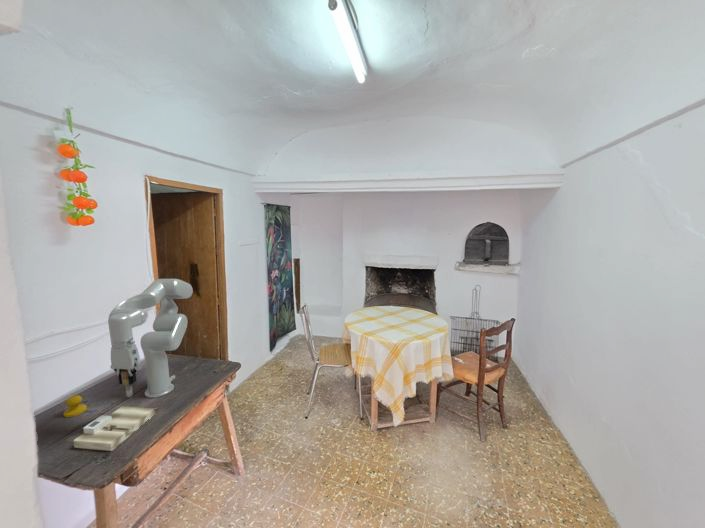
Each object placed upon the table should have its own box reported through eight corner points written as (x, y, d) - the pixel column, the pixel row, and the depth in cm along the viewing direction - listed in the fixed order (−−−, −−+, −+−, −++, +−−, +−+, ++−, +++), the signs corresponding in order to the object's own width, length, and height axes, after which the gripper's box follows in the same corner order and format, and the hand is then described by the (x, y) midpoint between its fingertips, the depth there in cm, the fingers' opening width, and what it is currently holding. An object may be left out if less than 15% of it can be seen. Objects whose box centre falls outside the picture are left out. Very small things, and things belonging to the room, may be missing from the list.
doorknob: (78, 405, 146) (91, 408, 144) (59, 415, 138) (72, 418, 136) (76, 390, 145) (89, 393, 143) (56, 400, 137) (69, 403, 135)
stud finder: (102, 420, 130) (101, 415, 130) (112, 421, 130) (111, 415, 129) (84, 433, 122) (83, 427, 122) (94, 434, 122) (93, 428, 121)
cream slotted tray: (122, 412, 140) (122, 406, 140) (154, 414, 139) (154, 408, 138) (74, 447, 119) (73, 440, 118) (111, 450, 117) (110, 443, 117)
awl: (129, 392, 137) (126, 367, 135) (137, 393, 136) (134, 368, 134) (121, 398, 133) (118, 372, 131) (130, 398, 133) (126, 372, 130)
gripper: (147, 340, 133) (152, 379, 136) (112, 338, 135) (118, 377, 138) (133, 347, 126) (138, 388, 129) (96, 345, 128) (102, 386, 131)
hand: (128, 382), depth 134 cm, fingers closed on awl, 4 cm apart
